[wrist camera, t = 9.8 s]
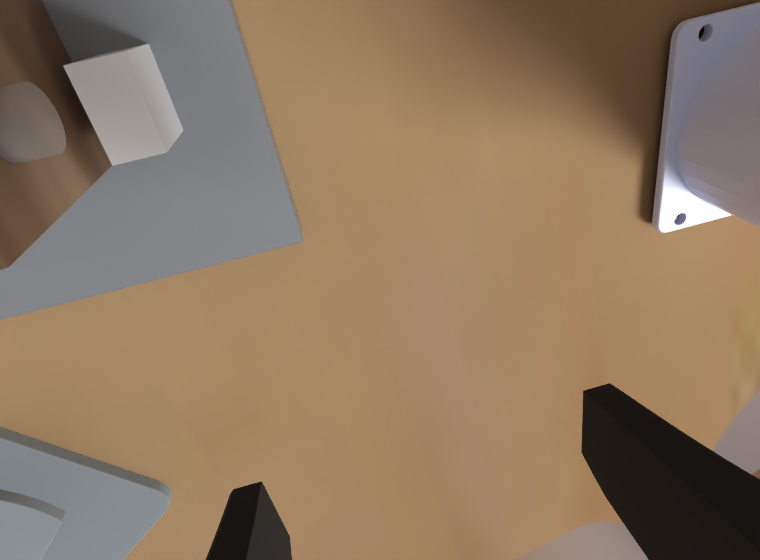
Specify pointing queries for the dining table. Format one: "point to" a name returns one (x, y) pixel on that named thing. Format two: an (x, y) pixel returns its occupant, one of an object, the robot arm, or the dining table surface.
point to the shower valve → (71, 503)
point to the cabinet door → (39, 130)
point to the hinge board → (158, 154)
